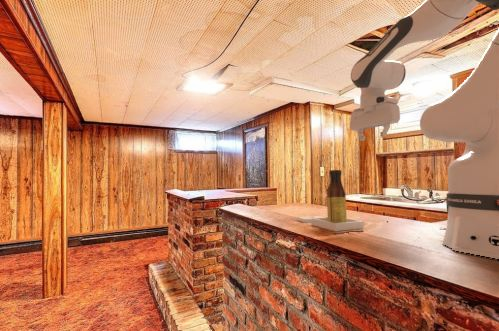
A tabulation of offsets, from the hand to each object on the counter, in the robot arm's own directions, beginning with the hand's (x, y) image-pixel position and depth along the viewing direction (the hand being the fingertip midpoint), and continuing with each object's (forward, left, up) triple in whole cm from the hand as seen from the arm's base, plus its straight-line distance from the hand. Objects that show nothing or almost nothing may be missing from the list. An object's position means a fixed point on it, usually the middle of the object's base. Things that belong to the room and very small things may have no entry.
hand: (372, 138), depth 99 cm
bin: (-1, +20, -34) cm, 39 cm away
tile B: (+12, +23, -33) cm, 42 cm away
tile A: (+12, +17, -33) cm, 39 cm away
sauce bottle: (-1, +20, -33) cm, 39 cm away
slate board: (+13, +20, -34) cm, 41 cm away
